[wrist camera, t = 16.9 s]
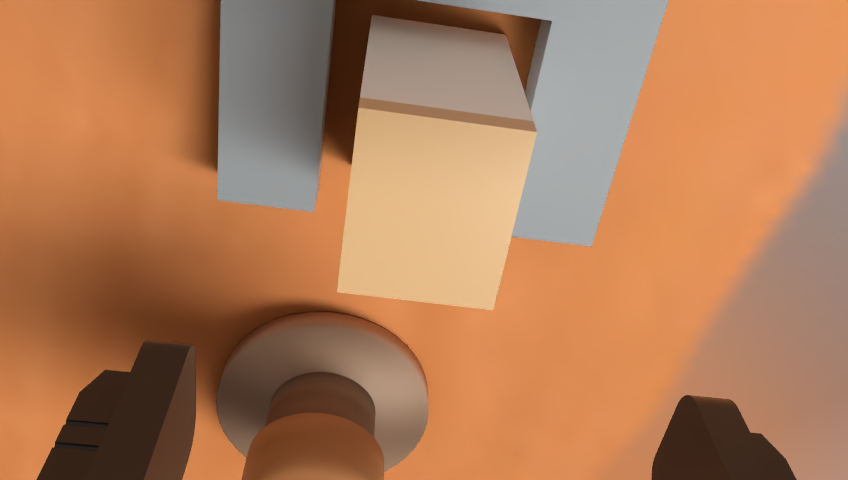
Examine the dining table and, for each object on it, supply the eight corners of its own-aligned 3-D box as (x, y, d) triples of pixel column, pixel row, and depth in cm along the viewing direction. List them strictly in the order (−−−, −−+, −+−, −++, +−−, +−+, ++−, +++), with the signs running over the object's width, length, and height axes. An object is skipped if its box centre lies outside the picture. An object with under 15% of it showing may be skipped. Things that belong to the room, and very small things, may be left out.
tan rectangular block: (372, 14, 23) (358, 107, 17) (505, 34, 24) (537, 132, 18) (353, 166, 26) (336, 292, 20) (474, 181, 26) (493, 310, 20)
